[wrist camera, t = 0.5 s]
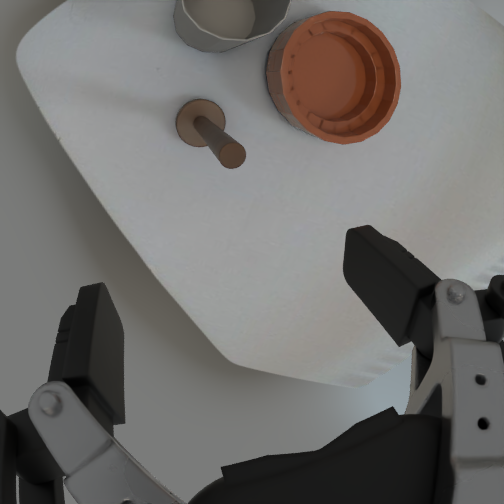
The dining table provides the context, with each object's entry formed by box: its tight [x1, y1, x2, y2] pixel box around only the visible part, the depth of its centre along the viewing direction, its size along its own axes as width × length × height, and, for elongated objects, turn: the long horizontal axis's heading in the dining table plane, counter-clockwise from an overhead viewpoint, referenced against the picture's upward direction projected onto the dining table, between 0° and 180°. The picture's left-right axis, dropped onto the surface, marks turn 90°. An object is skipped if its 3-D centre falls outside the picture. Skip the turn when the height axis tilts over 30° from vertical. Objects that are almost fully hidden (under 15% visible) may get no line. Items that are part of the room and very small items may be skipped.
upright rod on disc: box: [176, 99, 246, 169], centre depth 24 cm, size 5×5×16 cm
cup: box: [173, 0, 292, 52], centre depth 21 cm, size 8×8×10 cm
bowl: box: [266, 11, 401, 144], centre depth 29 cm, size 15×15×5 cm
